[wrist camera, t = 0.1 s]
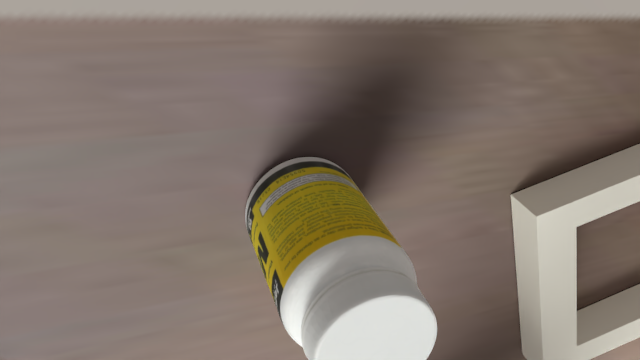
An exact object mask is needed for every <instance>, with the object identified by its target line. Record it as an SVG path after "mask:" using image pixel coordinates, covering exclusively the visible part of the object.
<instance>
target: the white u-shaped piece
mask: <svg viewBox="0 0 640 360" xmlns="http://www.w3.org/2000/svg"><path fill="white" fill-rule="evenodd" d="M639 201H640V144H637V145H635V146H632V147H630V148H627V149H625V150H622V151H620V152H617V153H614V154H612V155H609V156H607V157H604V158H602V159H599V160H597V161H594V162H592V163H589V164H587V165H584V166H582V167H579V168H577V169H574V170H571V171H569V172H566V173H564V174H561V175H559V176H556V177H554V178H551V179H549V180H546V181H544V182H541V183H539V184H536V185H534V186H531V187H528V188H526V189H523V190H521V191H518V192H516V193H513V194H511V206H512V220H513V234H514V248H515V261H516V275H517V289H518V303H519V316H520V330H521V344H522V354H523V355H524V356H525V358H526V359H527V360H590V359H592V358H594V357H596V356H599V355H601V354H603V353H605V352H608V351H610V350H612V349H614V348H617V347H619V346H621V345H623V344H625V343H628V342H630V341H632V340H634V339H637V338H639V337H640V284H638V285H636V286H633V287H631V288H629V289H626V290H624V291H622V292H619V293H617V294H615V295H613V296H610V297H608V298H606V299H603V300H601V301H599V302H596V303H594V304H592V305H590V306H587V307H585V308H583V309H580V310H578V311H577V236H576V227H578V226H580V225H583V224H585V223H588V222H590V221H592V220H595V219H597V218H600V217H602V216H605V215H607V214H610V213H612V212H614V211H617V210H619V209H622V208H624V207H627V206H629V205H631V204H634V203H636V202H639Z"/></svg>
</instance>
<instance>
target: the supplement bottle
mask: <svg viewBox="0 0 640 360" xmlns="http://www.w3.org/2000/svg"><path fill="white" fill-rule="evenodd" d="M245 221H246V227H247V230H248V234H249V236H250V239H251V242H252V244H253V247H254V249H255V252H256V254H257V257H258V260H259V262H260V265H261V268H262V270H263V273H264V276H265V278H266V281H267V283H268V286H269V288H270V291H271V294H272V296H273V299H274V302H275V304H276V306H277V309H278V313H279V316H280V318H281V321H282V323H283V325H284V327H285V329H286V330H287V332H288V334H289V335H290V336H291V337H292V339H293V340H294V341H296V342H297V343H298V344H299V345H300V346H302V347H303V349H304V352H305V354H306V356H307V358H308V359H309V360H426V359H427V358H428V356H429V354H430V353H431V351H432V349H433V346H434V344H435V341H436V337H437V321H436V317H435V314H434V312H433V310H432V308H431V307H430V305H429V304H428V302H427V301H426V299H425V297H424V296H423V295H422V293H421V291H420V290H419V288H418V287H417V278H416V273H415V269H414V267H413V264H412V262H411V260H410V258H409V257H408V255H407V254H406V252H405V251H404V250H403V248H402V247H401V246H400V244H399V243H398V242H397V240H396V239H395V238H394V236H393V235H392V234H391V232H390V231H389V229H388V228H387V227H386V225H385V224H384V223H383V221H382V220H381V219H380V217H379V216H378V215H377V213H376V212H375V210H374V209H373V208H372V206H371V205H370V204H369V202H368V201H367V199H366V198H365V197H364V195H363V194H362V193H361V191H360V190H359V188H358V187H357V186H356V184H355V183H354V182H353V180H352V179H351V177H350V176H349V175H348V174H347V173H346V172H345V171H344V170H343V169H342V168H341V167H339V166H338V165H337V164H335V163H333V162H331V161H329V160H326V159H323V158H318V157H301V158H295V159H291V160H288V161H286V162H283V163H281V164H279V165H277V166H276V167H274V168H273V169H271V170H270V171H269V172H267V173H266V174H265V175H264V176H263V177H262V178H261V179H260V180H259V181H258V182H257V184H256V185H255V187H254V188H253V190H252V191H251V193H250V196H249V198H248V201H247V204H246V210H245Z"/></svg>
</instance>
